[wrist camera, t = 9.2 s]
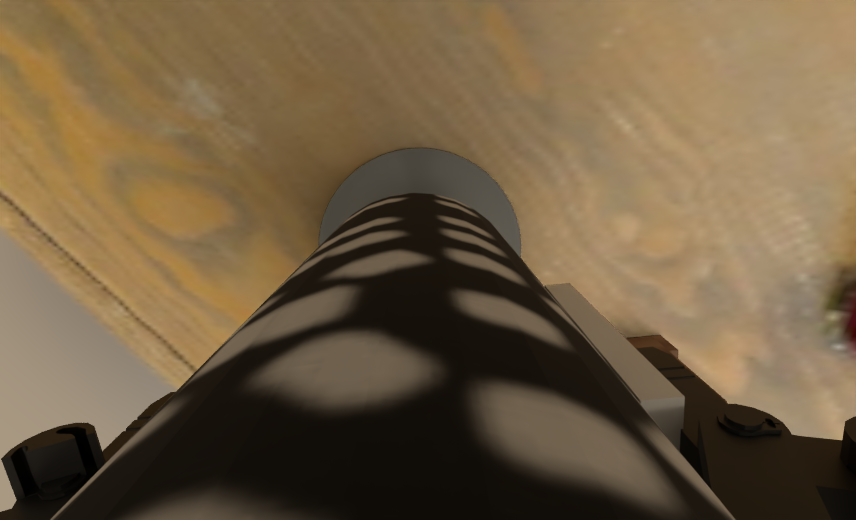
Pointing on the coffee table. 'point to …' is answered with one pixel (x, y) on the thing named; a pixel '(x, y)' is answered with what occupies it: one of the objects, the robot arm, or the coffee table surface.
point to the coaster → (423, 188)
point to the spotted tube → (402, 398)
